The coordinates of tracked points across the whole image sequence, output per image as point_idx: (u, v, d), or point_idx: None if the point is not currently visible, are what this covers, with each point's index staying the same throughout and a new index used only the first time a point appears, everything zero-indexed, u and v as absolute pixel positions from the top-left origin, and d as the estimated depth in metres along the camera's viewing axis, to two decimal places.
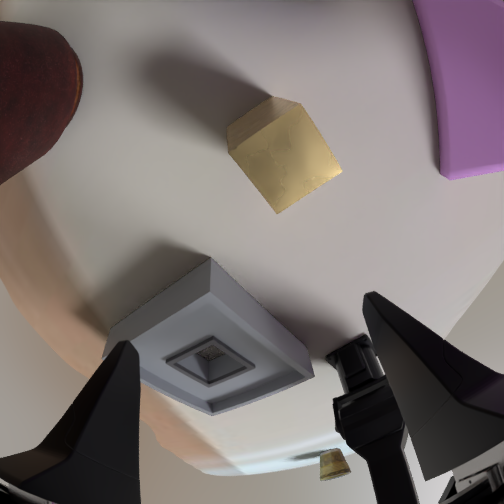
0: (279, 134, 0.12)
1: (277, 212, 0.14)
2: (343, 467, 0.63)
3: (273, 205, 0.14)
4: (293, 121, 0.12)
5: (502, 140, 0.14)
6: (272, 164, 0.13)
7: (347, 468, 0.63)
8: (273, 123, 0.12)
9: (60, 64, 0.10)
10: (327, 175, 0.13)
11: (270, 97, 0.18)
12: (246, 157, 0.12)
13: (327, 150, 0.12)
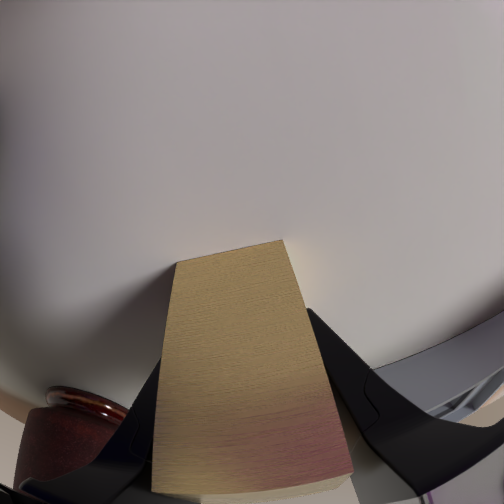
0: (207, 500, 0.05)
1: (334, 488, 0.06)
2: None
3: (321, 491, 0.06)
4: (188, 497, 0.04)
5: None
6: (257, 500, 0.05)
7: None
8: (183, 499, 0.05)
9: (68, 445, 0.11)
10: (336, 480, 0.04)
11: None
12: (227, 503, 0.06)
13: (281, 488, 0.04)
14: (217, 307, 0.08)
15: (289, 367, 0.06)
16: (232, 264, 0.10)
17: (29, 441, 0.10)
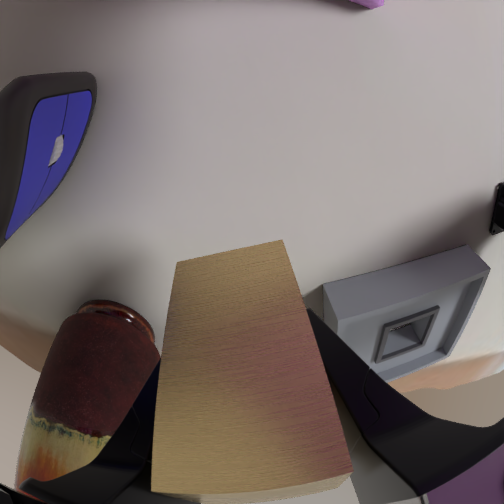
0: (207, 499, 0.05)
1: (334, 488, 0.06)
2: None
3: (321, 491, 0.06)
4: (188, 496, 0.04)
5: None
6: (256, 500, 0.05)
7: None
8: (183, 499, 0.05)
9: (97, 334, 0.19)
10: (336, 480, 0.04)
11: None
12: (227, 503, 0.06)
13: (281, 488, 0.04)
14: (217, 307, 0.08)
15: (289, 367, 0.06)
16: (232, 264, 0.10)
17: (62, 338, 0.19)
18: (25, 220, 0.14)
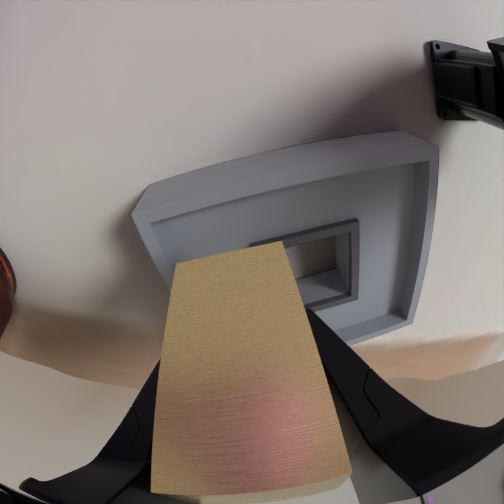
0: (206, 500, 0.05)
1: (333, 489, 0.06)
2: None
3: (320, 492, 0.06)
4: (187, 497, 0.04)
5: None
6: (256, 500, 0.05)
7: None
8: (182, 499, 0.05)
9: None
10: (334, 481, 0.04)
11: None
12: None
13: (280, 490, 0.04)
14: (217, 308, 0.08)
15: (288, 369, 0.06)
16: (231, 265, 0.10)
17: None
18: None
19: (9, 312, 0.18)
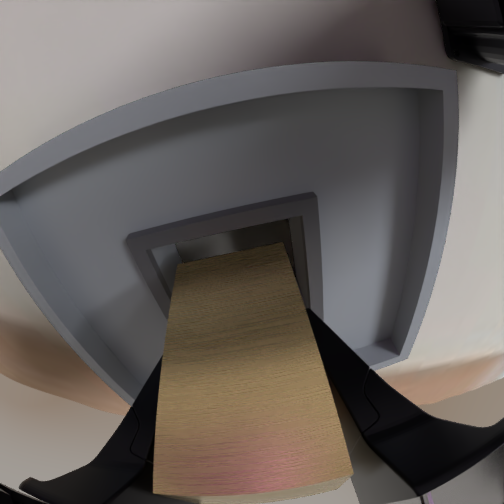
0: (208, 501, 0.05)
1: (334, 489, 0.06)
2: None
3: (321, 492, 0.06)
4: (189, 498, 0.04)
5: None
6: (257, 501, 0.05)
7: None
8: (184, 500, 0.05)
9: None
10: (336, 482, 0.04)
11: None
12: None
13: (282, 490, 0.04)
14: (218, 309, 0.08)
15: (289, 370, 0.06)
16: (232, 266, 0.10)
17: None
18: None
19: None
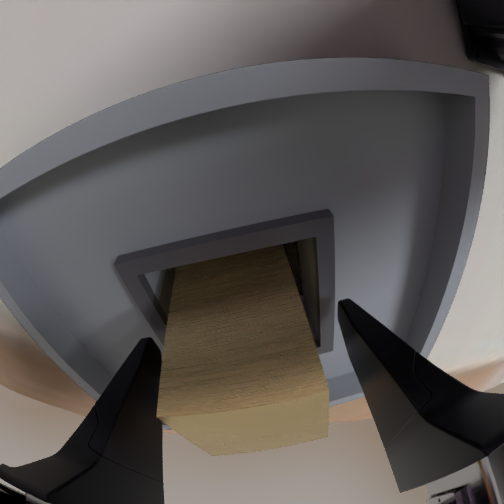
0: (206, 436, 0.06)
1: (325, 436, 0.08)
2: None
3: (312, 439, 0.08)
4: (189, 426, 0.06)
5: None
6: (252, 442, 0.07)
7: None
8: (185, 436, 0.06)
9: None
10: (317, 406, 0.06)
11: None
12: (226, 451, 0.07)
13: (267, 407, 0.05)
14: (216, 268, 0.10)
15: (274, 308, 0.08)
16: None
17: None
18: None
19: None
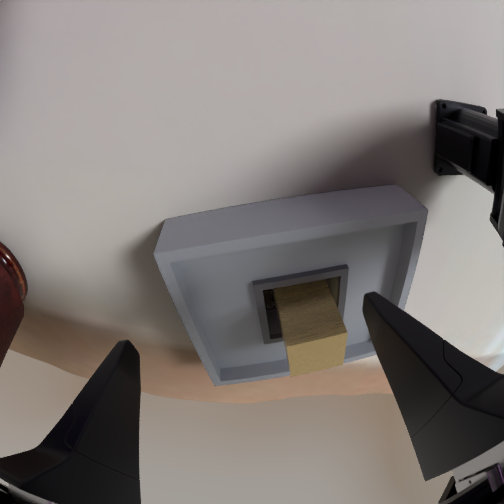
0: (298, 358, 0.18)
1: (342, 364, 0.19)
2: None
3: (336, 365, 0.19)
4: (295, 351, 0.17)
5: None
6: (313, 362, 0.18)
7: None
8: (289, 359, 0.18)
9: None
10: (342, 340, 0.17)
11: None
12: (299, 371, 0.19)
13: (327, 338, 0.17)
14: (295, 287, 0.21)
15: (324, 304, 0.19)
16: None
17: None
18: None
19: (21, 317, 0.20)
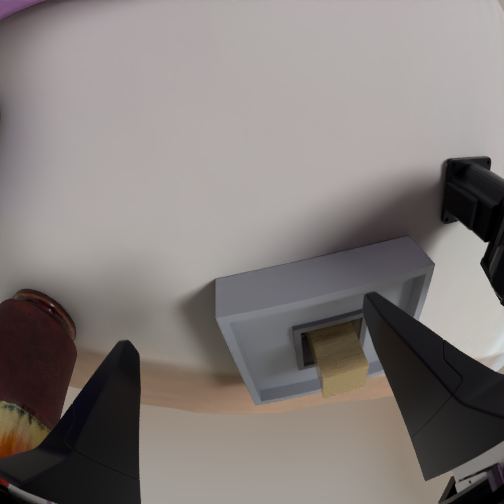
0: (330, 385, 0.21)
1: (363, 385, 0.22)
2: None
3: None
4: (329, 381, 0.21)
5: None
6: (341, 387, 0.22)
7: None
8: (323, 387, 0.21)
9: (14, 317, 0.18)
10: (364, 370, 0.21)
11: None
12: (330, 393, 0.22)
13: (353, 370, 0.20)
14: None
15: (350, 342, 0.23)
16: None
17: None
18: None
19: None
